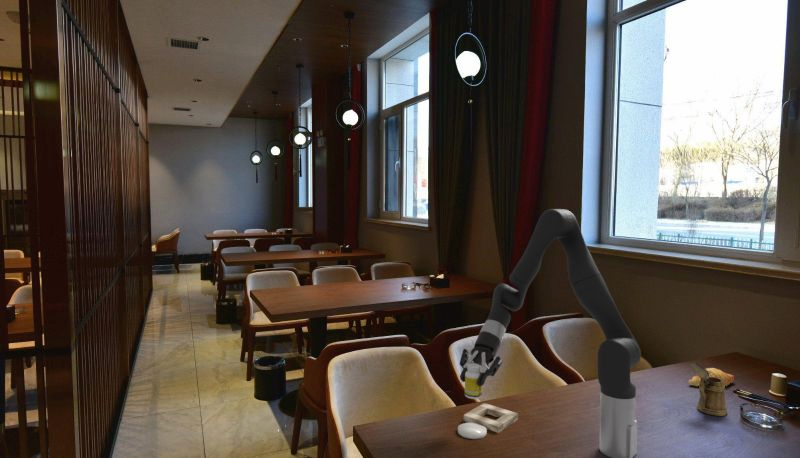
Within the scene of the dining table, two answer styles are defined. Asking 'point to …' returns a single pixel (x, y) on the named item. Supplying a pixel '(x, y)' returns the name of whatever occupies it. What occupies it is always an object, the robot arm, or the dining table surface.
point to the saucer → (472, 430)
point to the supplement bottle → (472, 382)
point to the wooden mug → (710, 393)
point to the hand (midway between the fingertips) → (470, 382)
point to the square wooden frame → (497, 425)
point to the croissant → (714, 373)
